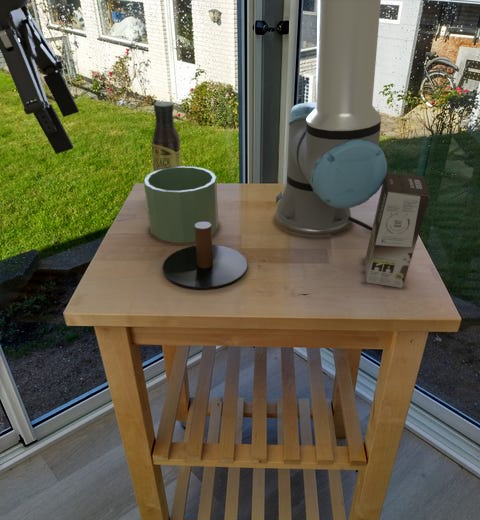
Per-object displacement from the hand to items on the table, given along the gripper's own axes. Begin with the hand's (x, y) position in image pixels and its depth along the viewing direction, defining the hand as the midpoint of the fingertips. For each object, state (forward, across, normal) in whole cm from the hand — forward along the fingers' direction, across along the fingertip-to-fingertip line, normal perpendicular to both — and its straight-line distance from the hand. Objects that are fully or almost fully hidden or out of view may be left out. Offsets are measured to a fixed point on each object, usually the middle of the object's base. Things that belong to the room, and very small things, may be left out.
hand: (68, 131), depth 78 cm
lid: (+25, +12, +14) cm, 31 cm away
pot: (+27, -5, +11) cm, 30 cm away
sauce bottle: (+29, -24, +8) cm, 39 cm away
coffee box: (+32, +18, +43) cm, 57 cm away
